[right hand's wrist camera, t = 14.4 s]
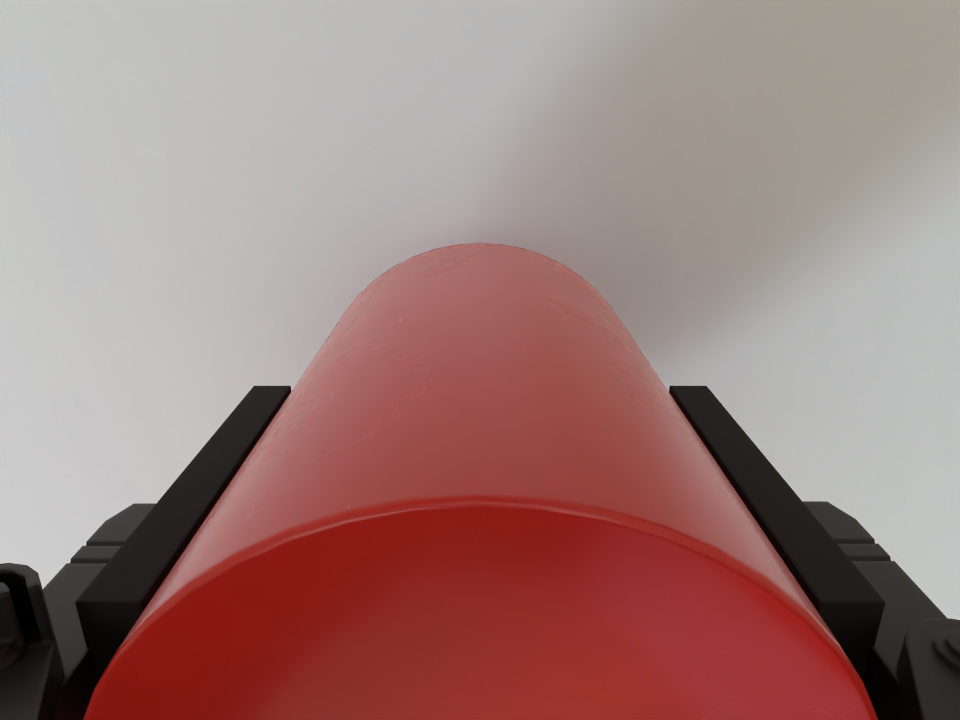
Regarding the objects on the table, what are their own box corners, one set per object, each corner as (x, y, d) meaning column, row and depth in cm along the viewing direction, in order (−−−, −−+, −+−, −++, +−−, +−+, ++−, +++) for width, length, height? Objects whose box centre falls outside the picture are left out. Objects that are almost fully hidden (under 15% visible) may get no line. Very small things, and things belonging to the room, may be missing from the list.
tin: (627, 220, 15) (929, 439, 5) (645, 514, 18) (867, 1048, 8) (289, 267, 15) (-74, 562, 5) (357, 548, 18) (202, 1101, 8)
